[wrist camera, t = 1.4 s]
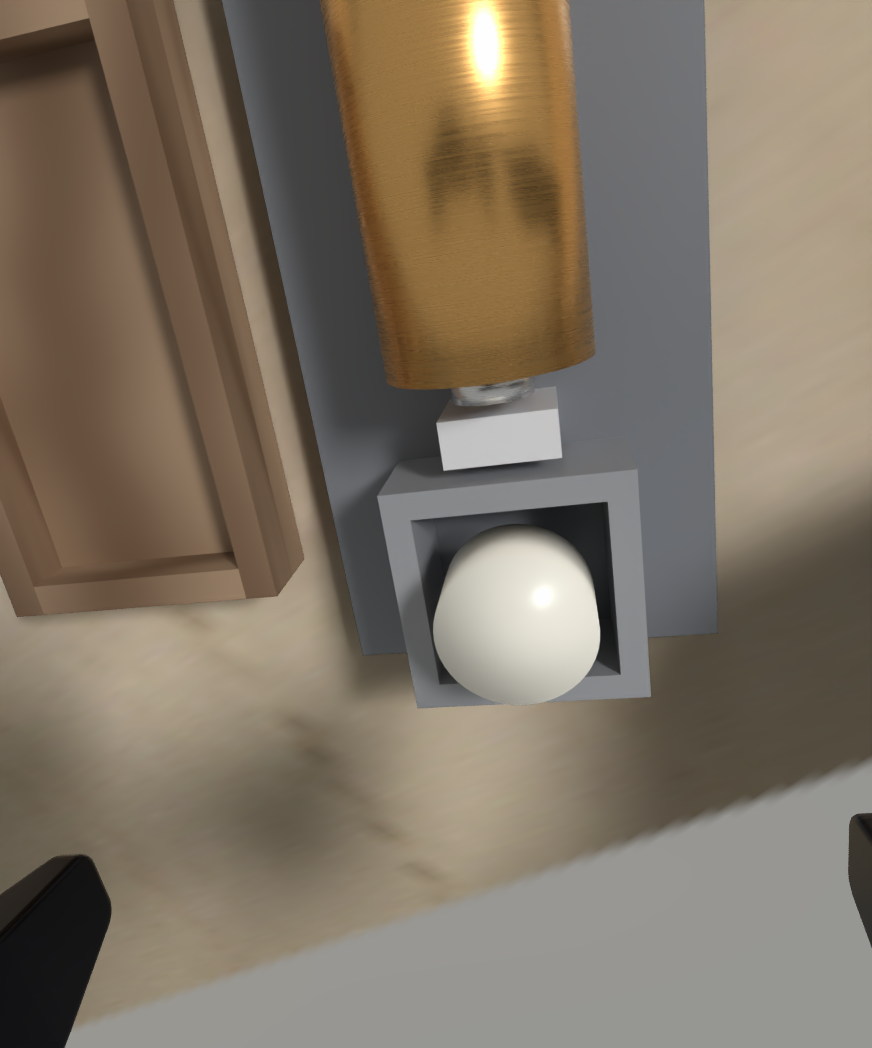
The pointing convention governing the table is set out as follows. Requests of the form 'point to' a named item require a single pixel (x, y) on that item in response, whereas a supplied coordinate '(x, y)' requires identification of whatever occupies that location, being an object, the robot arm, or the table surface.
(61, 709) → the table surface
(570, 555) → the bulb
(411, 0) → the cell
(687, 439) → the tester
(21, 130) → the trough
